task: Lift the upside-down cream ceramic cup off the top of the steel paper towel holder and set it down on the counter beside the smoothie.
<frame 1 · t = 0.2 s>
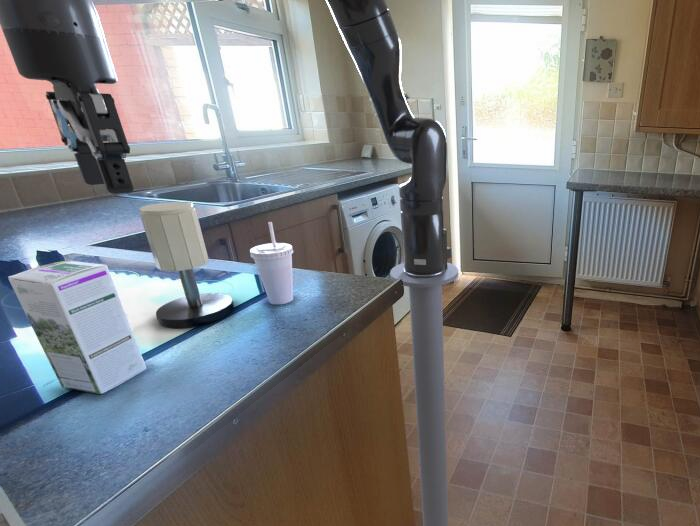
hand: (109, 188, 49), 22 cm above the counter, tool pointing down, fingers open, 8 cm apart
towel holder: (198, 313, 66), on the counter
cup: (183, 264, 63), point 9 cm above the counter, touching towel holder
syrup box: (106, 380, 50), on the counter
smoothie: (281, 301, 73), on the counter
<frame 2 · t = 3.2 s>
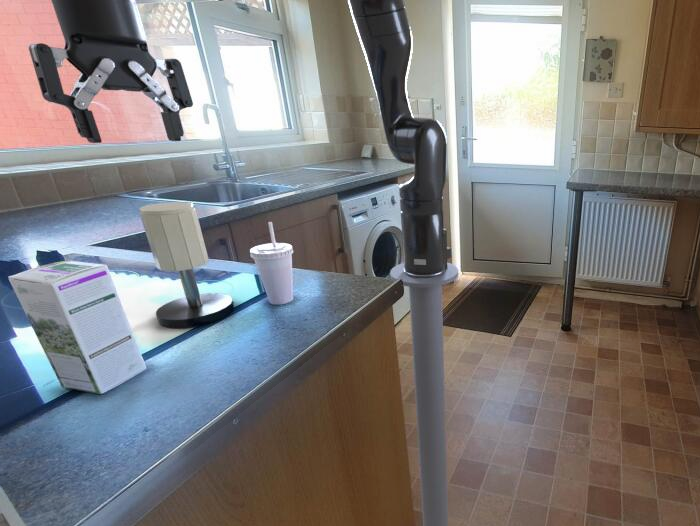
hand: (137, 141, 54), 27 cm above the counter, tool pointing down, fingers open, 8 cm apart
nothing on the counter moved.
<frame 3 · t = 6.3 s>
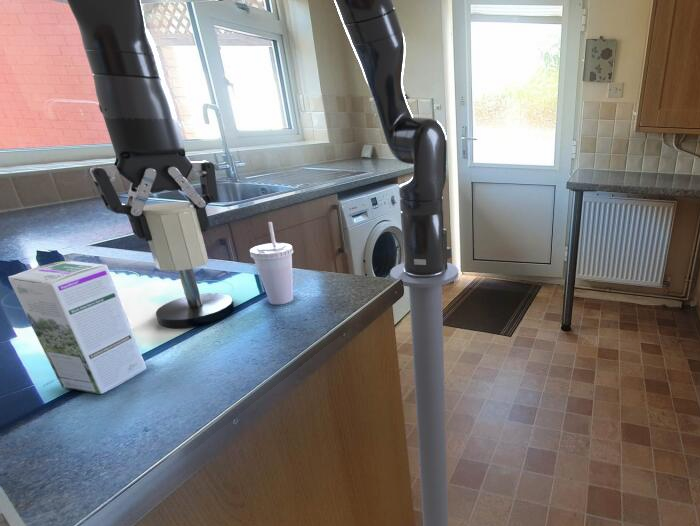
hand: (175, 235, 61), 13 cm above the counter, tool pointing down, fingers closed on cup, 6 cm apart
cup: (183, 264, 63), point 9 cm above the counter, touching gripper, towel holder
everything else where it was.
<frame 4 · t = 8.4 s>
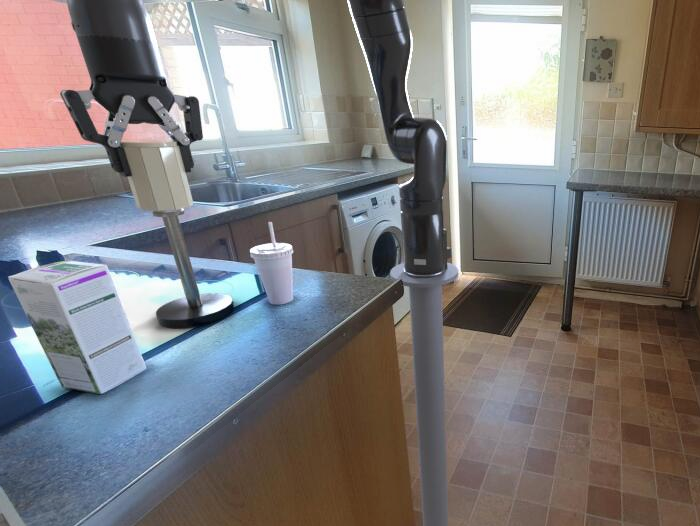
hand: (157, 173, 58), 22 cm above the counter, tool pointing down, fingers closed on cup, 6 cm apart
cup: (166, 206, 60), point 18 cm above the counter, touching gripper
everything else where it was.
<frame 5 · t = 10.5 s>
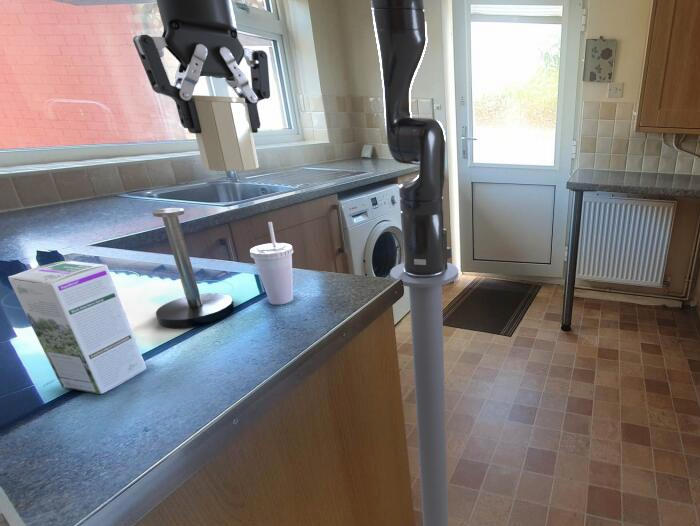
hand: (225, 132, 55), 28 cm above the counter, tool pointing down, fingers closed on cup, 6 cm apart
cup: (232, 168, 56), point 24 cm above the counter, touching gripper
everything else where it was.
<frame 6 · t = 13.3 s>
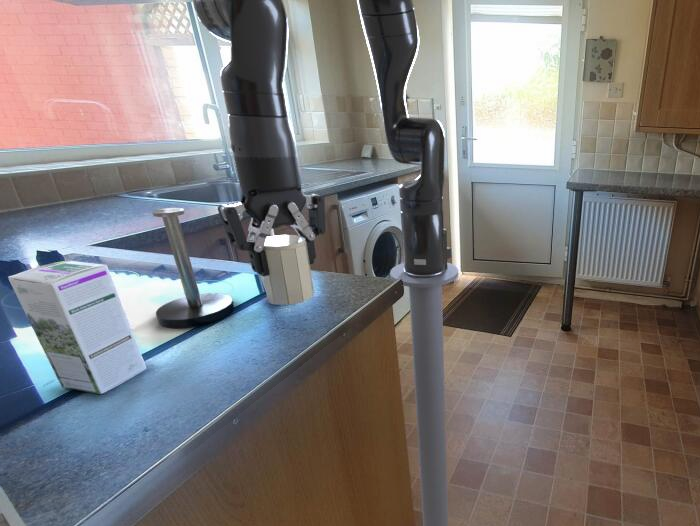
hand: (287, 268, 61), 9 cm above the counter, tool pointing down, fingers closed on cup, 6 cm apart
cup: (291, 296, 63), point 5 cm above the counter, touching gripper
everything else where it was.
when the fingers open (5 cm above the counter, at t = 15.1 s): cup stays where it is, on the counter.
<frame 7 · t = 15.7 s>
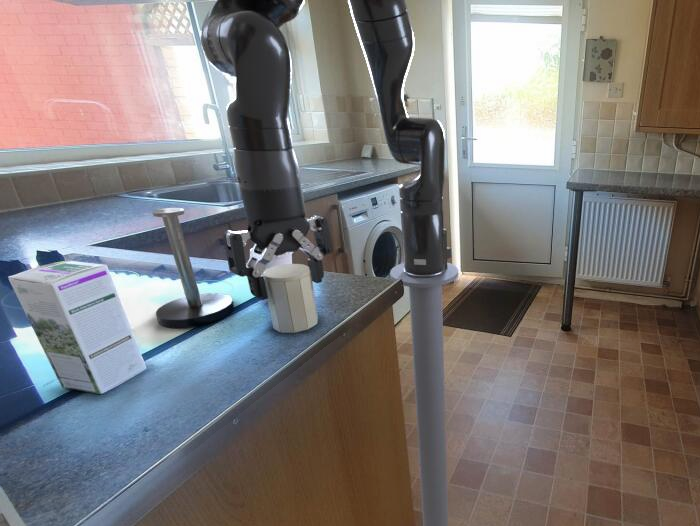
hand: (290, 289, 63), 6 cm above the counter, tool pointing down, fingers open, 8 cm apart
cup: (296, 323, 65), on the counter
everything else where it was.
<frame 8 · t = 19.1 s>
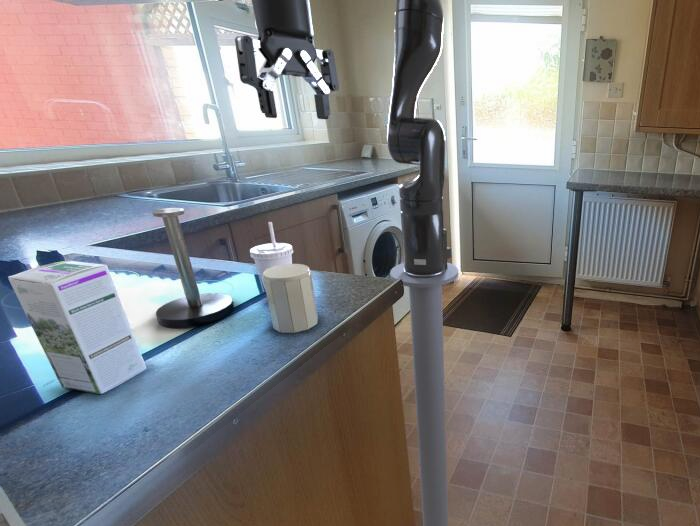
hand: (298, 118, 65), 30 cm above the counter, tool pointing down, fingers open, 8 cm apart
nothing on the counter moved.
at the end: cup on the counter; cup 10.6 cm from the smoothie (horizontally); cup tilted 0° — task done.
